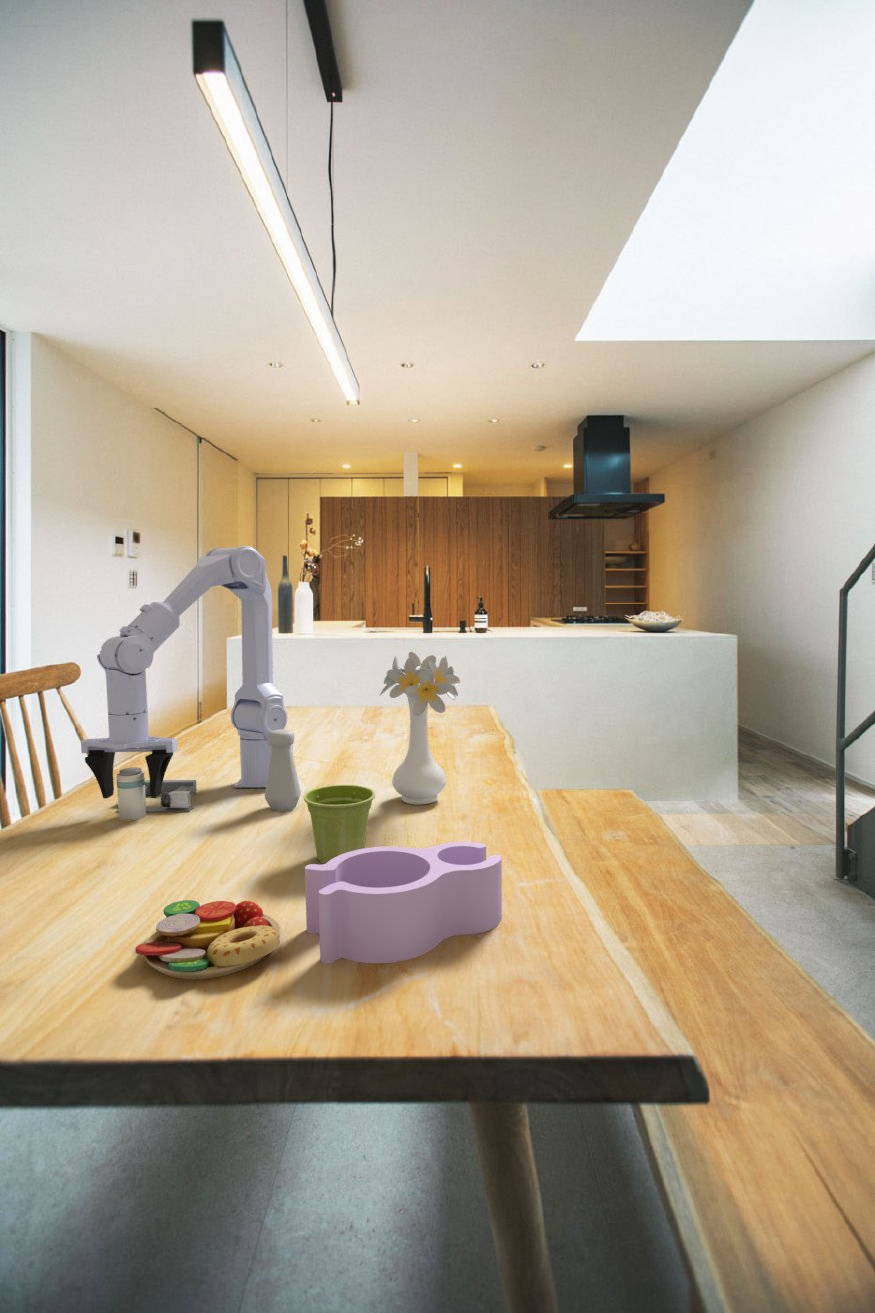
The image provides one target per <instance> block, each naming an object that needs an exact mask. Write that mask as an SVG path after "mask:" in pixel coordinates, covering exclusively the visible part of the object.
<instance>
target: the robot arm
mask: <svg viewBox="0 0 875 1313" xmlns="http://www.w3.org/2000/svg"><path fill="white" fill-rule="evenodd" d="M266 563H267V562H266V558H264V556H263V555H262V554H261V553H260V552H259V551H258V550H256V549H255V548H254V547H252V546H250V545H242V546H238V547H237V546H236V547H227V548H225V547H224V548H220V547H218V548H217V547H216V548H212V549H209V551H207V552H206V554H205V555H204V556H202V557H201V558H199V559H198V560H197V562H196V564H195V566H194V567H193V568H192V570H191V571H190V572H189V573H187V575H186V576H185V577H184V578H183V579H182V580H181V582H179V584H178V585H177V586H176V587H175V588H174V589H173V590H172V592H171V593H170V594H169V595H168V596H167V597H166V598H165V599H164V600H163V602H162V601H161V602H160V601H159V602H158V601H153V602H151V603H150V604H143V605H142V606H141V607H140V608H139V610H140V612H139V614H138V615H137V616H136V617H135V618H134V619H133V620H132V621H131V622H130V623H129V624H128V625H127V626H126V625H125V626H122V627H121V628H119V629H118V631H119V632H120V633H119V636H112V637H109V638H108V639H106V640H105V641H104V642H103V643H102V645H101V647H100V648H101V650H100V651H99V653H98V654H97V655H96V659H97V661H98V664H99V666H100V667H101V668H103V670H104V672H105V681H106V683H105V684H106V698H107V699H106V702H107V717H108V718H107V719H108V720H107V721H108V737H104V738H103V737H102V738H86V739H84V740H81V741H80V748H81V749H80V750H81V754H87V756H86V757H84V762H85V764H86V765H87V766H88V767H89V769H90V770H91V772H92V773H93V775H94V777H95V779H96V781H97V784H98V787H99V789H100V792H101V795H102V799H109V798H110V797H112V796H114V792H115V791H114V790H115V783H114V765H115V764H114V763H115V756H116V753H149V754H147V755H145V757H144V759H145V762H146V764H147V770H148V775H149V776H148V778H149V780H150V798H151V799H156V798H158V797H160V796H162V795H161V787H162V782H163V780H164V778H165V774H166V771H167V769H168V766H169V764H170V762H171V760H172V758H173V756H174V753H175V752H176V751H178V738H177V737H172V738H171V737H158V736H150V734H149V716H148V698H147V697H148V696H147V694H148V693H147V675H146V674H147V673H146V670H147V669H149V668H151V665H152V663H153V660H154V653H156V651H157V650H158V649H159V648H161V646H162V645H163V644H164V643H165V642H166V641H167V640H168V638H170V637H171V636H172V635H173V634H174V633H175V631H176V630H178V629H179V627H180V616H181V615H182V614H183V613H184V612H185V611H187V610H188V609H189V608H190V607H191V606H192V605H193V604H195V602H196V601H198V600H199V599H200V598H201V597H202V596H203V595H204V594H206V592H208V591H209V590H210V589H211V588H212V587H216V586H221V587H223V588H225V589H228V590H229V591H230V592H231V593H233V594H234V595H235V596H236V597H237V598H238V599H239V600H240V602H241V603H240V604H241V656H242V657H241V659H242V660H241V665H242V666H241V668H242V672H241V674H242V675H241V676H242V680H241V681H242V685H241V686H240V688H238V690H237V691H236V692H235V694H234V705H233V706H232V709H231V713H230V721H231V724H232V725H233V726H232V727H234V728H235V729H236V731H237V735H238V737H239V751H240V752H239V753H240V754H239V755H240V756H239V757H240V779H239V780H238V781H237V782H236V783H234V785H233V786H234V788H236V789H237V788H266V784H267V777H268V771H269V764H270V756H271V749H272V746H270V745H268V740H267V738H268V734H269V733H270V732H271V731H274V730H280V729H286V726H287V723H288V712H287V710H286V708H285V705H284V695H283V694H282V693H281V692H280V691H279V689H277V687H276V685H274V676H273V674H274V670H273V669H274V664H273V662H274V661H273V660H274V659H273V650H274V649H273V593H272V592H273V591H272V587H271V584H270V580H269V578H268V576H267V571H266V570H267V569H266V567H267V566H266ZM293 744H294V743H293ZM293 744H292V745H291V749H292V753H293V754H294V748H293V746H294V745H293Z"/></svg>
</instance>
